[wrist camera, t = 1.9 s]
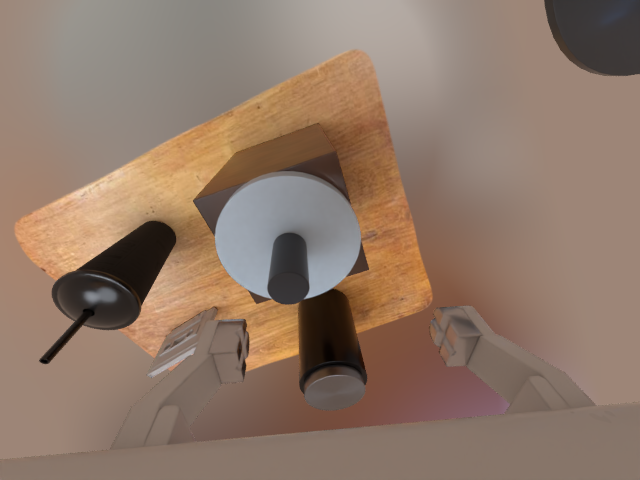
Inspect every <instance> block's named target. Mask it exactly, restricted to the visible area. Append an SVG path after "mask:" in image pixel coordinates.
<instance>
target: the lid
mask: <svg viewBox="0 0 640 480" xmlns="http://www.w3.org/2000/svg"><path fill="white" fill-rule="evenodd" d="M360 244H361V232H360V227H359V223H358V220H357V217H356V215H355V213H354V211H353V209H352V207H351V205H350V203H349V202H348V200H347V199H346V198H345V196H344V195H343V194H342V193H341V192H340V191H339V190H338V189H337V188H335V187H334V186H333V185H331V184H330V183H328V182H327V181H325V180H323V179H321V178H319V177H316V176H314V175H311V174H307V173H303V172H295V171H280V172H272V173H268V174H265V175H261V176H259V177H256V178H254V179H252V180H250V181H249V182H247V183H245V184H244V185H243V186H241V187H240V188H239V189H238V190H236V192H235V193H234V194H233V195H232V196H231V197H230V198H229V200H228V202H227V203H226V205H225V206H224V208H223V210H222V212H221V214H220V216H219V218H218V221H217V225H216V230H215V245H216V250H217V254H218V256H219V259H220V261H221V263H222V265H223V267H224V268H225V270H226V271H227V272H228V274H229V275H230V276H231V277H232V278H233V279H234V280H235V281H236V282H237V283H239V284H240V285H241V286H243V287H244V288H246V289H247V290H249V291H251V292H253V293H255V294H258V295H260V296H263V297H267V298H271V299H273V300H275V301H276V302H278V303H281V304H295V303H298V302H300V301H302V300H303V299H307V298H311V297H314V296H317V295H320V294H322V293H324V292H326V291H328V290H330V289H331V288H333V287H335V286H336V285H337V284H338V283H340V282H341V281H342V280H343V279H344V278H345V277H346V276H347V275H348V273H349V272H350V271H351V269H352V267H353V266H354V264H355V262H356V260H357V257H358V254H359V250H360Z"/></svg>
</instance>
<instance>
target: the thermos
mask: <svg viewBox="0 0 640 480" xmlns="http://www.w3.org/2000/svg"><path fill="white" fill-rule="evenodd" d="M298 318H299V383H300V389H301V391H302V392H303V394H304V397H305V400H306V402H307V403H308V404H309V405H310V406H312V407H314V408H317V409H320V410H339V409H344V408H347V407H350V406H352V405H354V404H355V403H357V402H358V401H359V400H361V398H362V397H363V396H364V394H365V385H366V382H367V374H366V370H365V366H364V362H363V358H362V354H361V349H360V346H359V341H358V337H357V333H356V329H355V325H354V321H353V317H352V313H351V309H350V305H349V301H348V299H347V297H346V296H345V295H344V294H343V293H342V292H340V291H338V290H335V289H330V290H328V291H326V292H324V293H322V294H320V295H317V296H314V297H311V298H307V299H303V300H302V301H300V303H299V307H298Z"/></svg>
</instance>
